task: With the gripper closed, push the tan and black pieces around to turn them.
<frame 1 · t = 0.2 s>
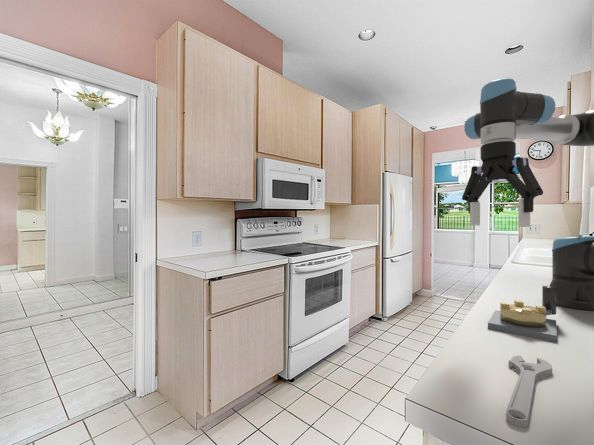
hand: (497, 226, 77), 28 cm above the counter, fingers open, 13 cm apart
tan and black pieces: (531, 304, 82), point 6 cm above the counter, hinge at 0.0°
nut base: (522, 326, 81), on the counter
adjustable wrench: (520, 389, 53), on the counter
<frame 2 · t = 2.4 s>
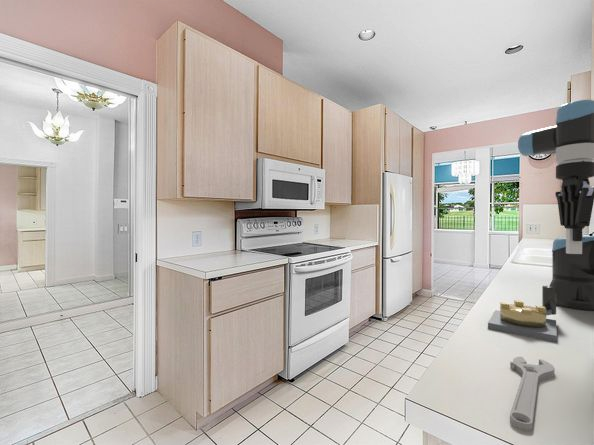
hand: (573, 253, 77), 20 cm above the counter, fingers closed
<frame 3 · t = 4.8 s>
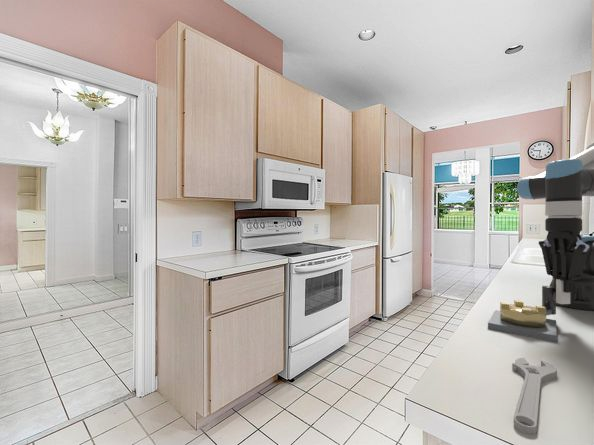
hand: (563, 303, 81), 6 cm above the counter, fingers closed
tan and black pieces: (531, 303, 82), point 6 cm above the counter, hinge at 0.4°, touching gripper
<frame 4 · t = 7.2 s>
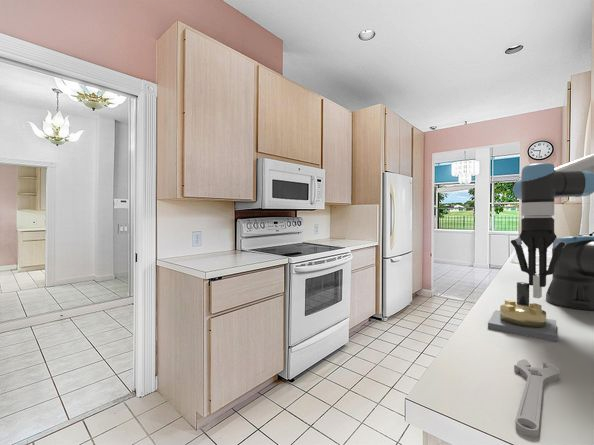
hand: (537, 297, 88), 6 cm above the counter, fingers closed
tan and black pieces: (522, 302, 84), point 6 cm above the counter, hinge at 32.9°, touching gripper
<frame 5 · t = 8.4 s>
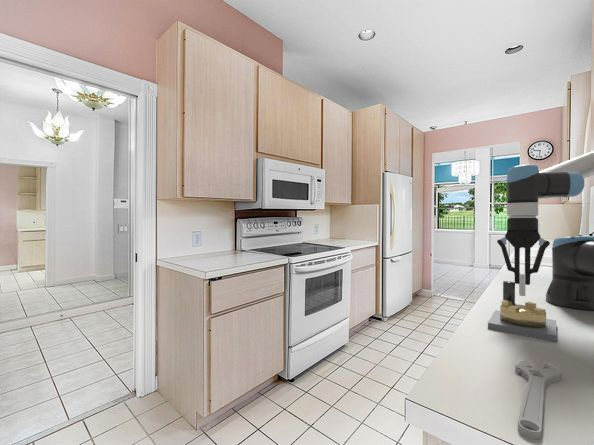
hand: (522, 294, 90), 6 cm above the counter, fingers closed
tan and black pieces: (517, 301, 84), point 6 cm above the counter, hinge at 51.0°, touching gripper
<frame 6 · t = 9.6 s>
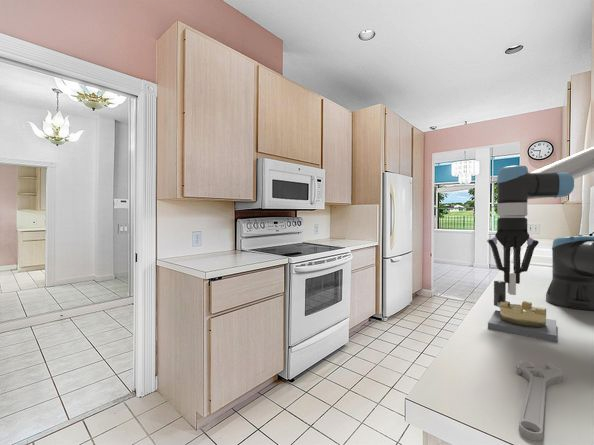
hand: (511, 293, 91), 6 cm above the counter, fingers closed
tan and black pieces: (514, 301, 85), point 6 cm above the counter, hinge at 64.1°
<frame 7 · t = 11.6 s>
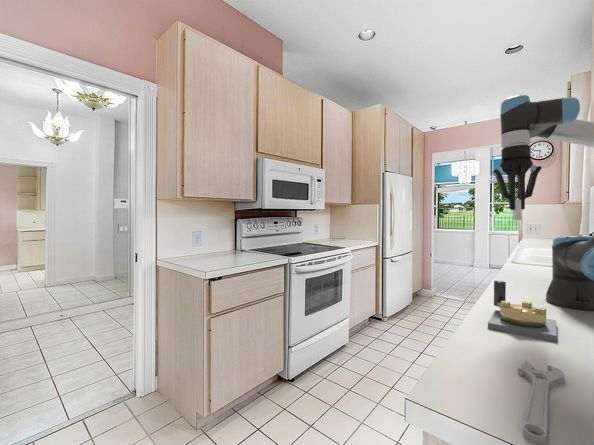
hand: (517, 220, 96), 29 cm above the counter, fingers closed
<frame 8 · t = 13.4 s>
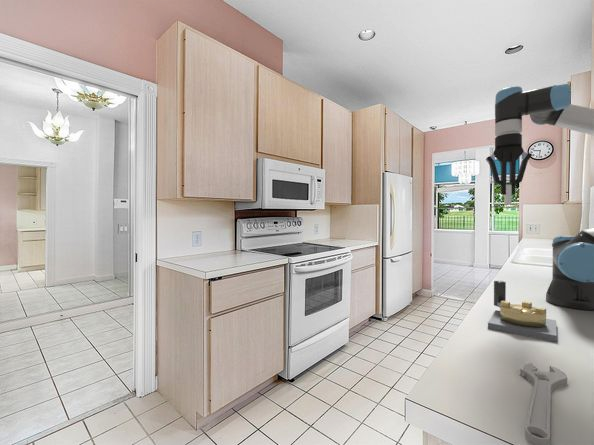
hand: (507, 204, 102), 34 cm above the counter, fingers closed
at the end: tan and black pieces at +64° (first picture: +0°) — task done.
